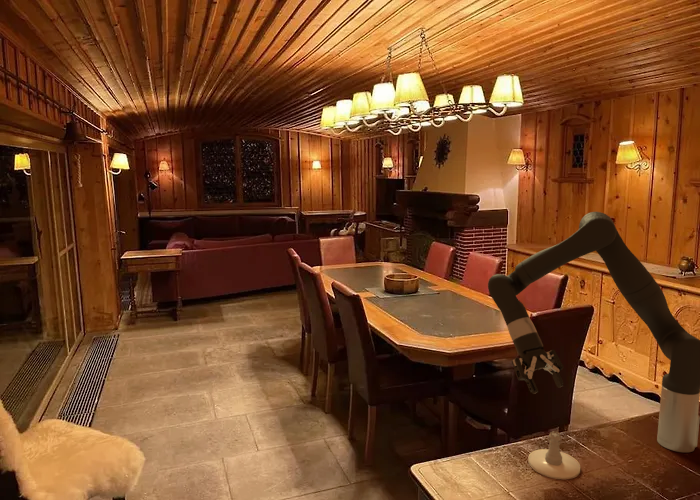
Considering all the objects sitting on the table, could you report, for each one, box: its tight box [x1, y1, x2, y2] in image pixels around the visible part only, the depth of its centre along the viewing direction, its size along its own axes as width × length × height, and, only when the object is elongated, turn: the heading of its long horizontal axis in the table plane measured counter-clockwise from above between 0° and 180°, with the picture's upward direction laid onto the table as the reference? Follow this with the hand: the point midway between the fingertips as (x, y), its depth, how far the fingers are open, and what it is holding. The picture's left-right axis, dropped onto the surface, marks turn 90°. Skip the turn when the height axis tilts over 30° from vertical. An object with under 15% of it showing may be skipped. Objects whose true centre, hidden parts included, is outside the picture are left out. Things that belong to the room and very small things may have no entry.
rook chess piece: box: [545, 431, 562, 465], centre depth 136 cm, size 4×4×8 cm
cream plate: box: [527, 448, 581, 480], centre depth 136 cm, size 13×13×1 cm
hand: (548, 389), depth 142 cm, fingers open, 8 cm apart
